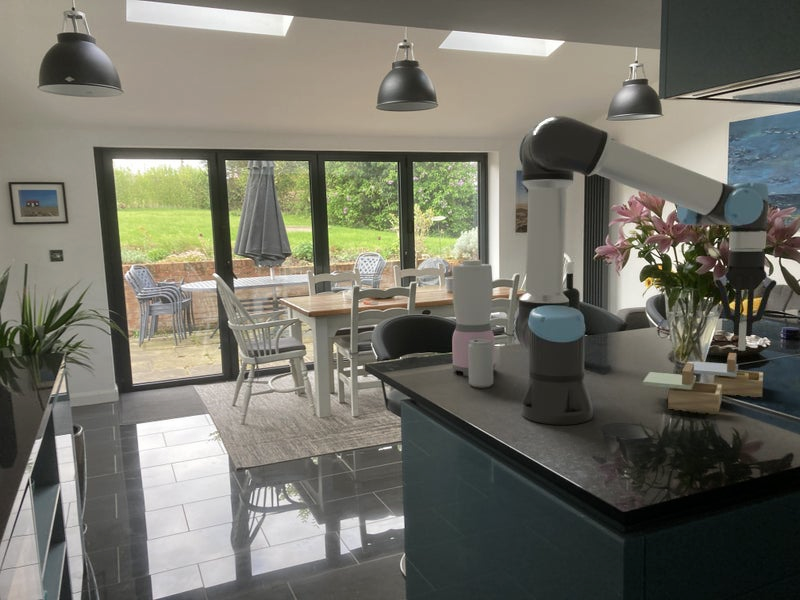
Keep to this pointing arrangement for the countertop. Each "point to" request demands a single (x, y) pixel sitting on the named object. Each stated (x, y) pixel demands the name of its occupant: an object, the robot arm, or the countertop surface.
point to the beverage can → (480, 363)
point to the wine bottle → (571, 288)
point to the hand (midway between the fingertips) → (741, 349)
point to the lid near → (672, 378)
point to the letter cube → (741, 375)
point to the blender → (471, 309)
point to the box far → (742, 384)
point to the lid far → (717, 367)
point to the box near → (696, 398)
